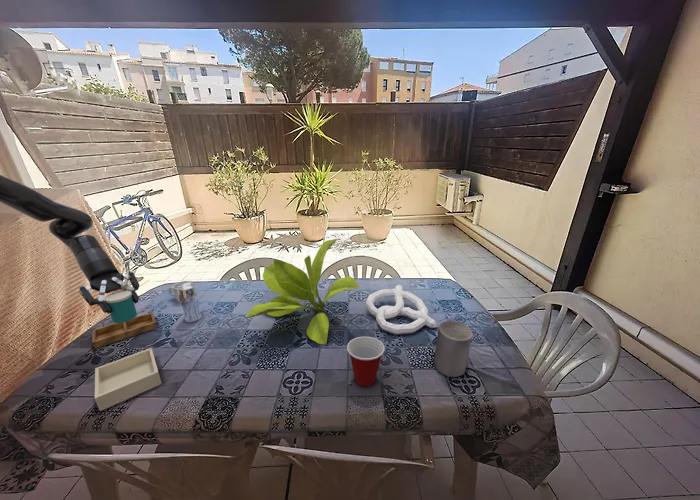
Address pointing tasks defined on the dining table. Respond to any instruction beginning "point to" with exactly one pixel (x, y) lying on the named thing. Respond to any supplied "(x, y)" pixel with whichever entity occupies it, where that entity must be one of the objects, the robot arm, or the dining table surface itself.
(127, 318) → the container
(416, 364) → the dining table surface
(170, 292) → the cup
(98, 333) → the brown wooden divided tray
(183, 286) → the beer glass
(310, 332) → the artificial plant
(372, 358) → the plastic cup
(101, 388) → the shallow cream tray
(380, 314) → the pretzel
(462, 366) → the pillar candle
